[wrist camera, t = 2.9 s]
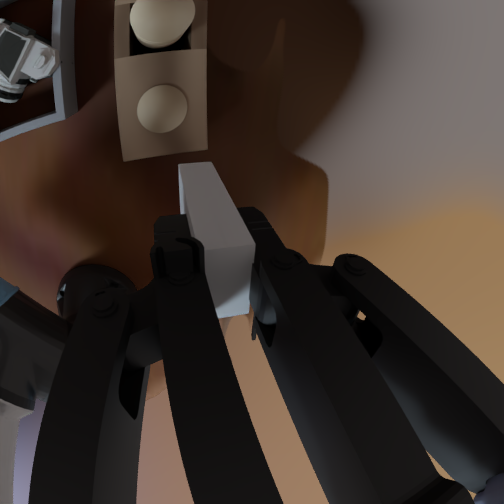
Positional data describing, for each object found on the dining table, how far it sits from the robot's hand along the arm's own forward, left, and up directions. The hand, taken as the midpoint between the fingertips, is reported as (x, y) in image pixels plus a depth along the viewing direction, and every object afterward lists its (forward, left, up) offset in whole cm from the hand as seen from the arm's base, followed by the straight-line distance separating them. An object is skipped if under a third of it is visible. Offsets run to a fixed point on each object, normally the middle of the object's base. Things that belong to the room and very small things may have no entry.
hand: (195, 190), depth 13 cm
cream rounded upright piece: (-1, +11, -19) cm, 22 cm away
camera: (-19, +13, -25) cm, 34 cm away
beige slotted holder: (-1, +7, -25) cm, 26 cm away
